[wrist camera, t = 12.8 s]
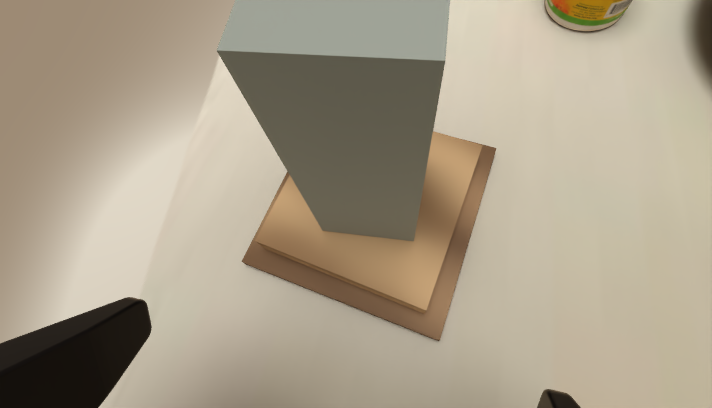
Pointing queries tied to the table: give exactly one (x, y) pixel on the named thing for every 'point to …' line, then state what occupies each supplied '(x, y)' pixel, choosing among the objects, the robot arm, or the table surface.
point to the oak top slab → (375, 254)
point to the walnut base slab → (372, 302)
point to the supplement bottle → (586, 13)
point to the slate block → (345, 101)
